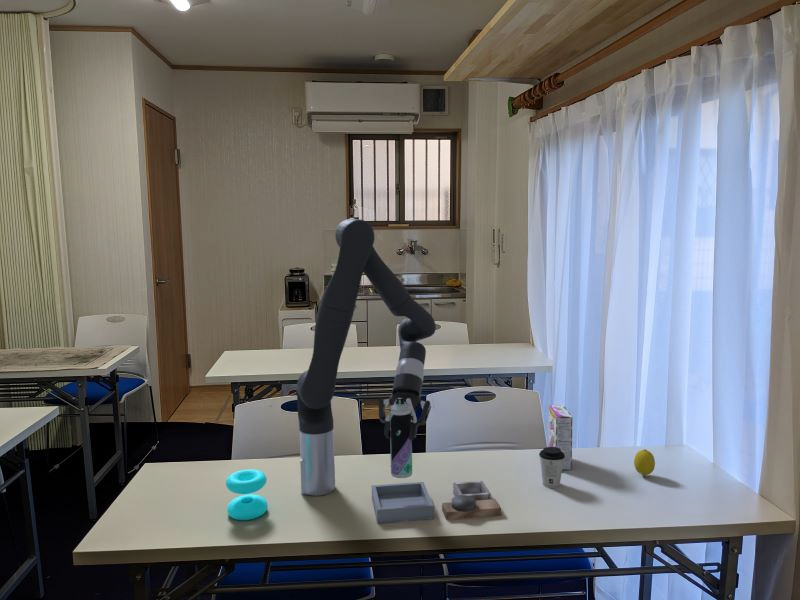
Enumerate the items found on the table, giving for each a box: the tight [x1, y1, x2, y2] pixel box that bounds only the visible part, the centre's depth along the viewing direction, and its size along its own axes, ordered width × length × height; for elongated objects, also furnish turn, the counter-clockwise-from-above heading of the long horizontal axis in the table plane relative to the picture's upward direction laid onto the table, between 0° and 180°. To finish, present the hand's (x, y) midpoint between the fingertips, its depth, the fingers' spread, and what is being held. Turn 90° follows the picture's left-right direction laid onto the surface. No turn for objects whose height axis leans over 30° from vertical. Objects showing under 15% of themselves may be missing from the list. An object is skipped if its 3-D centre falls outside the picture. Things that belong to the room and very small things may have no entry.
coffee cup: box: [538, 446, 565, 489], centre depth 174 cm, size 7×7×10 cm
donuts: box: [225, 468, 269, 521], centre depth 160 cm, size 10×10×10 cm
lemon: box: [633, 448, 656, 477], centre depth 179 cm, size 6×6×8 cm
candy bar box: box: [547, 404, 574, 471], centre depth 188 cm, size 11×5×16 cm, turn 179°
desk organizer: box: [441, 480, 502, 521], centre depth 163 cm, size 14×15×4 cm
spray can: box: [388, 398, 413, 479], centre depth 159 cm, size 6×6×20 cm
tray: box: [371, 481, 435, 524], centre depth 162 cm, size 14×14×4 cm
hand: (399, 438), depth 158 cm, fingers closed on spray can, 5 cm apart
